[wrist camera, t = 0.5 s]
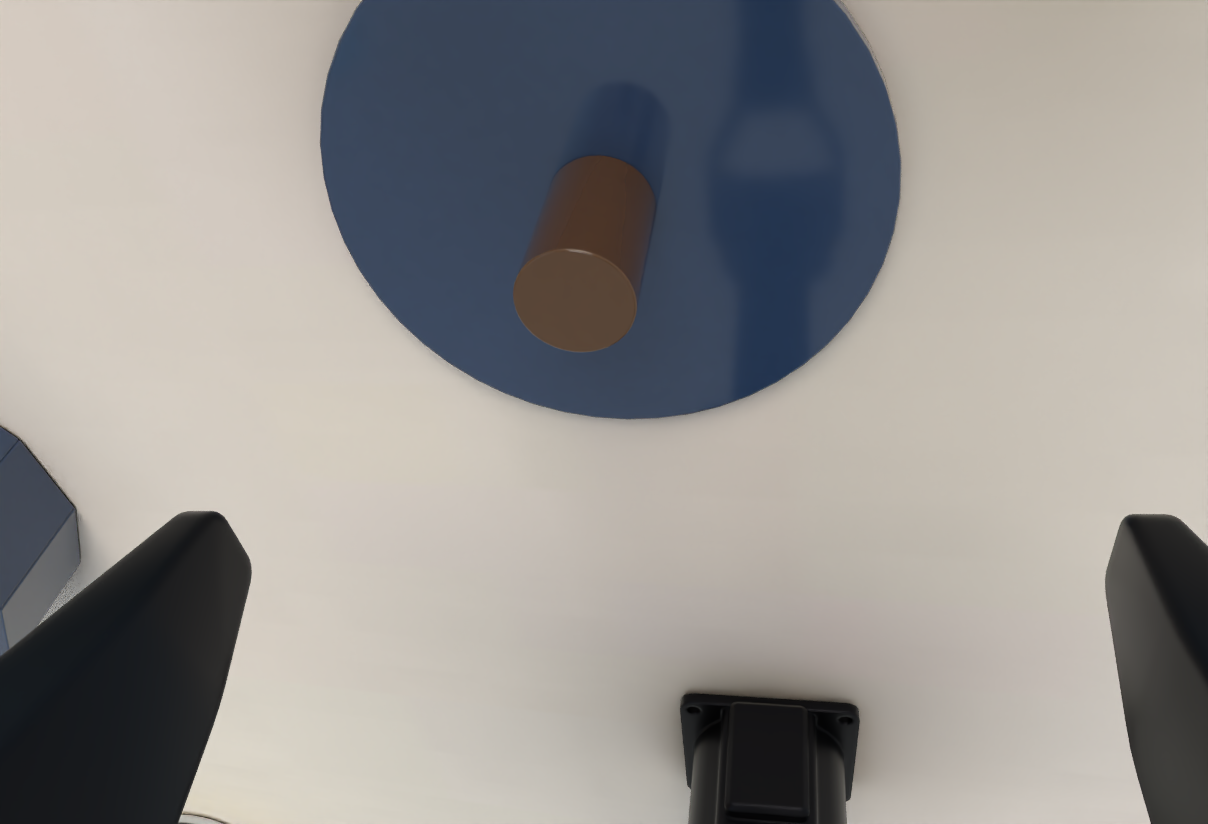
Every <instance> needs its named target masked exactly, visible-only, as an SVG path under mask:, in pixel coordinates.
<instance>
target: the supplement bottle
mask: <svg viewBox="0 0 1208 824" xmlns="http://www.w3.org/2000/svg"><path fill="white" fill-rule="evenodd" d="M178 824H223V823H221V822H218V821H215V820H212V819H208V818H204V817H199V816H193V815H181V817H180V819H179V822H178Z"/></svg>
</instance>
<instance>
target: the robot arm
mask: <svg viewBox="0 0 1208 824" xmlns="http://www.w3.org/2000/svg"><path fill="white" fill-rule="evenodd" d="M251 573H252V570H251V563H250V559H249V557H248V555H247V553H246V552H245V550H244V548H243V547H242V545H241V543H240V542H239V540H238V538H237V537H236V535H235V533H234V532H233V530H232V528H231V527H230V525H229V523H228V522H227V520H226V519H225V517H224V516H223V515H221V514H220V513H218V512H214V511H187V512H183V513H180V514H178V515H177V516H175V517H174V518H172V519H171V520H170V521H169V522H167V523H166V524H165V525H164V526H162V527H161V528H160V529H159V530H157V531H156V532H155V533H154V534H152V535H151V536H150V537H149V538H147V539H146V540H145V541H144V542H142V543H141V544H140V545H139V546H137V547H136V548H135V549H134V550H132V551H131V552H130V553H129V554H127V555H126V556H125V557H124V558H122V559H121V560H120V561H119V562H117V563H116V564H115V565H114V566H112V567H111V568H110V569H109V570H107V571H106V572H105V573H104V574H102V575H101V576H100V577H99V578H97V579H96V580H95V581H94V582H92V583H91V584H90V585H89V586H87V587H86V588H85V589H84V590H82V591H81V592H80V593H79V594H77V595H76V596H75V597H74V598H72V599H71V600H70V601H69V602H67V603H66V604H65V605H64V606H62V607H61V608H60V609H59V610H57V611H56V612H55V613H54V614H52V615H51V616H50V617H49V618H47V619H46V620H45V621H44V622H42V623H41V624H40V625H39V626H37V627H36V628H35V629H34V630H32V631H31V632H30V633H29V634H27V635H26V636H25V637H24V638H22V639H21V640H20V641H19V642H17V643H16V644H15V645H14V646H12V647H11V648H10V649H9V650H7V651H6V652H5V653H4V654H2V655H1V656H0V824H178V822H179V819H180V817H181V814H182V811H183V808H184V805H185V803H186V800H187V797H188V794H189V792H190V789H191V786H192V783H193V780H194V778H195V775H196V772H197V769H198V767H199V764H200V761H201V758H202V755H203V753H204V750H205V747H206V744H207V741H208V739H209V736H210V733H211V730H212V728H213V725H214V721H215V718H216V715H217V712H218V709H219V706H220V703H221V699H222V696H223V692H224V688H225V685H226V681H227V676H228V672H229V668H230V664H231V660H232V656H233V652H234V648H235V644H236V640H237V636H238V631H239V627H240V623H241V619H242V615H243V611H244V607H245V603H246V599H247V595H248V590H249V586H250V582H251ZM1105 590H1106V599H1107V606H1108V612H1109V618H1110V625H1111V631H1112V638H1113V644H1114V650H1115V657H1116V663H1117V670H1118V676H1119V682H1120V689H1121V695H1122V701H1123V708H1124V714H1125V721H1126V727H1127V732H1128V738H1129V743H1130V749H1131V753H1132V757H1133V761H1134V765H1135V769H1136V773H1137V777H1138V780H1139V784H1140V787H1141V790H1142V794H1143V797H1144V801H1145V804H1146V808H1147V811H1148V815H1149V818H1150V822H1151V824H1208V546H1207V545H1206V544H1205V543H1204V542H1203V541H1202V540H1201V539H1200V538H1199V537H1198V536H1197V535H1196V534H1195V533H1194V532H1193V531H1192V530H1191V529H1190V528H1189V527H1188V526H1187V525H1186V524H1185V523H1183V522H1182V521H1181V520H1180V519H1178V518H1177V517H1175V516H1172V515H1166V514H1132V515H1128V516H1126V517H1125V518H1124V519H1123V520H1122V522H1121V524H1120V526H1119V530H1118V533H1117V536H1116V540H1115V543H1114V546H1113V550H1112V553H1111V557H1110V560H1109V563H1108V567H1107V571H1106V578H1105ZM680 712H681V723H682V733H683V744H684V755H685V765H686V776H687V785H688V787H689V788H690V789H691V796H690V809H689V821H688V824H847V818H846V801H848V800H849V799H850V798H851V790H852V781H853V773H854V764H855V756H856V748H857V739H858V731H859V722H860V720H859V710H858V708H857V707H856V706H854V705H852V704H848V703H835V702H820V701H804V700H788V699H772V698H757V697H741V696H725V695H709V694H687V695H684V696H683V697H682V699H681V707H680Z"/></svg>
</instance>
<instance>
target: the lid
mask: <svg viewBox="0 0 1208 824" xmlns="http://www.w3.org/2000/svg"><path fill="white" fill-rule="evenodd" d="M320 147H321V156H322V165H323V174H324V180H325V184H326V188H327V192H328V197H329V201H330V205H331V209H332V212H333V214H334V217H335V220H336V222H337V225H338V227H339V230H340V233H341V235H342V238H343V240H344V242H345V244H346V246H347V248H348V250H349V252H350V254H351V255H352V257H353V259H354V261H355V263H356V265H357V267H358V269H359V270H360V272H361V273H362V275H363V276H364V278H365V279H366V280H367V282H368V283H369V285H370V286H371V288H372V289H373V291H374V292H375V293H376V295H377V296H378V298H379V299H380V300H381V301H382V302H383V303H384V304H385V306H386V307H387V308H388V309H389V310H390V311H391V313H392V314H393V315H394V316H395V317H396V318H397V319H398V321H399V322H400V323H401V324H403V325H404V326H405V327H406V328H407V329H408V330H409V331H410V332H411V333H412V334H413V335H414V336H415V337H417V338H418V339H419V340H420V341H421V342H422V343H423V344H424V345H426V346H427V347H428V348H430V349H431V350H432V351H434V352H435V353H436V354H438V355H439V356H440V357H442V358H443V359H444V360H446V361H447V362H448V363H450V364H451V365H453V366H455V367H456V368H458V369H460V370H461V371H463V372H465V373H466V374H468V375H469V376H471V377H473V378H474V379H476V380H478V381H480V382H482V383H484V384H487V385H489V386H491V387H493V388H495V389H497V390H499V391H501V392H503V393H505V394H508V395H511V396H514V397H516V398H519V399H522V400H524V401H527V402H530V403H532V404H536V405H539V406H543V407H547V408H551V409H555V410H558V411H562V412H567V413H573V414H579V415H585V416H591V417H600V418H616V419H649V418H663V417H671V416H678V415H685V414H691V413H695V412H699V411H703V410H708V409H712V408H716V407H720V406H722V405H725V404H728V403H731V402H734V401H736V400H739V399H742V398H745V397H747V396H750V395H752V394H754V393H756V392H758V391H760V390H762V389H764V388H766V387H768V386H770V385H772V384H774V383H776V382H778V381H779V380H781V379H782V378H784V377H786V376H787V375H789V374H790V373H792V372H793V371H795V370H796V369H798V368H799V367H801V366H802V365H804V364H805V363H806V362H807V361H809V360H810V359H811V358H812V357H813V356H814V355H816V354H817V353H818V352H819V351H820V350H822V349H823V348H824V347H825V346H826V345H828V343H829V342H830V341H831V340H832V339H833V338H834V337H835V336H836V335H837V334H838V333H839V331H840V330H841V329H842V328H843V327H844V326H845V325H846V324H847V323H848V322H849V320H850V319H851V318H852V316H853V315H854V313H855V312H856V310H857V309H858V308H859V306H860V305H861V303H862V302H863V300H864V299H865V298H866V296H867V295H868V293H869V291H870V289H871V287H872V285H873V283H874V281H875V279H876V277H877V275H878V273H879V271H880V269H881V267H882V265H883V263H884V260H885V257H886V254H887V251H888V248H889V246H890V243H891V240H892V237H893V234H894V230H895V224H896V219H897V213H898V207H899V202H900V190H901V155H900V147H899V139H898V131H897V123H896V118H895V113H894V109H893V106H892V102H891V99H890V95H889V92H888V88H887V85H886V81H885V78H884V75H883V73H882V71H881V69H880V67H879V64H878V62H877V60H876V58H875V55H874V53H873V51H872V49H871V47H870V44H869V42H868V40H867V39H866V37H865V36H864V34H863V32H862V31H861V29H860V28H859V26H858V25H857V23H856V22H855V20H854V19H853V17H852V15H851V14H850V12H849V11H848V9H847V8H846V6H845V5H844V4H843V3H842V1H841V0H362V1H361V2H360V4H359V5H358V6H357V8H356V10H355V11H354V13H353V15H352V17H351V19H350V21H349V23H348V25H347V27H346V28H345V30H344V32H343V34H342V36H341V38H340V40H339V42H338V45H337V48H336V51H335V54H334V57H333V60H332V63H331V66H330V68H329V71H328V74H327V80H326V85H325V91H324V96H323V102H322V107H321V131H320Z"/></svg>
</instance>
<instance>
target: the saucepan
mask: <svg viewBox="0 0 1208 824" xmlns="http://www.w3.org/2000/svg"><path fill="white" fill-rule="evenodd" d="M79 564H80V553H79V543H78V533H77V522H76V512H75V508H74V507H73V505H72V504H71V503H70V502H69V500H68V499H67V498H66V497H65V495H64V494H63V493H62V492H61V490H60V489H59V488H58V487H57V485H56V484H55V483H54V482H53V480H52V479H51V478H50V477H49V475H48V474H47V473H46V472H45V470H44V469H43V468H42V467H41V465H40V464H39V463H38V462H37V460H36V459H35V458H34V457H33V455H32V454H31V453H30V452H29V450H28V449H27V448H26V447H25V445H24V444H23V443H22V442H21V441H20V440H18V438H17V437H15V436H14V435H12V434H11V433H9V432H8V431H6V430H5V429H3V428H1V427H0V656H1V655H2V654H4V653H5V652H6V651H7V650H9V649H10V648H11V647H12V646H14V645H15V644H16V643H17V642H19V641H20V640H21V639H22V638H24V637H25V636H26V635H27V634H29V633H30V632H31V631H32V630H34V629H35V628H36V627H37V626H38V624H39V623H40V622H41V620H42V619H43V617H44V616H45V614H46V613H47V611H48V610H49V608H50V607H51V605H52V604H53V602H54V601H55V600H56V598H57V597H58V595H59V594H60V592H61V591H62V589H63V588H64V586H65V585H66V583H67V582H68V580H69V579H70V577H71V576H72V575H73V573H74V572H75V570H76V569H77V567H78V566H79Z"/></svg>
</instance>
